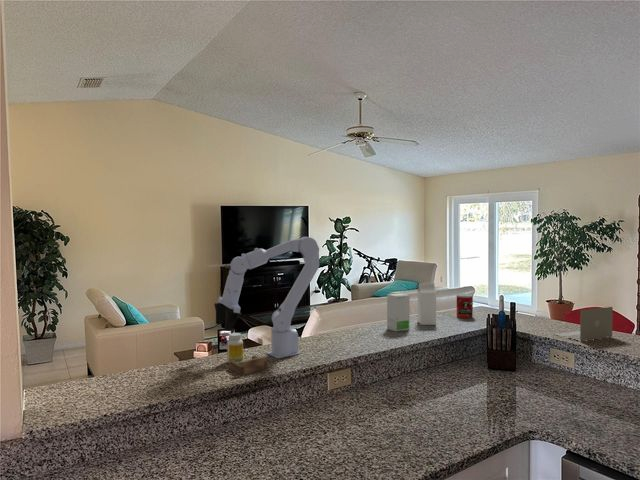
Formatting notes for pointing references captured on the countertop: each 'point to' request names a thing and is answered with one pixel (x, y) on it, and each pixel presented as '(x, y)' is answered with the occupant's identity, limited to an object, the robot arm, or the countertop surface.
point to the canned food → (464, 305)
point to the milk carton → (426, 304)
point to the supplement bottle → (235, 348)
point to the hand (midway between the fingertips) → (223, 327)
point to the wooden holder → (249, 365)
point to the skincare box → (398, 312)
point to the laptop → (594, 324)
